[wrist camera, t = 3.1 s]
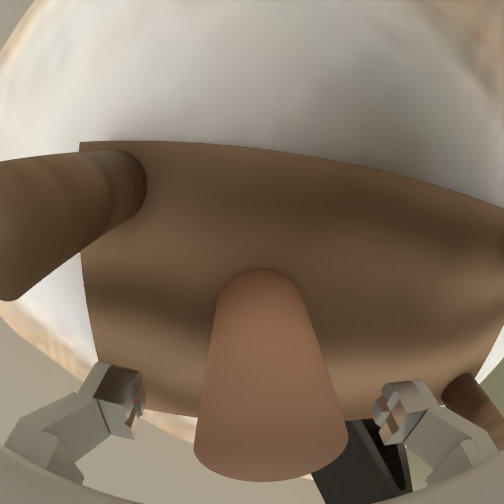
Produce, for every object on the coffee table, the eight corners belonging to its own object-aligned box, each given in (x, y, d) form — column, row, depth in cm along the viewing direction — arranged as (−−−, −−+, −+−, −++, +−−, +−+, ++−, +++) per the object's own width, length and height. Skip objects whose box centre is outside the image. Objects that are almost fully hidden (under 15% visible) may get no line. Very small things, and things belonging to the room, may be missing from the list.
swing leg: (274, 420, 16) (283, 524, 9) (210, 416, 16) (200, 521, 9) (311, 274, 13) (371, 405, 5) (219, 265, 12) (191, 402, 5)
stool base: (107, 141, 13) (-53, 154, 3) (511, 212, 15) (610, 261, 5) (122, 372, 19) (74, 487, 9) (445, 380, 20) (496, 458, 10)
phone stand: (296, 440, 22) (312, 554, 11) (343, 404, 20) (382, 530, 9) (357, 455, 24) (381, 543, 12) (399, 424, 22) (438, 516, 11)
